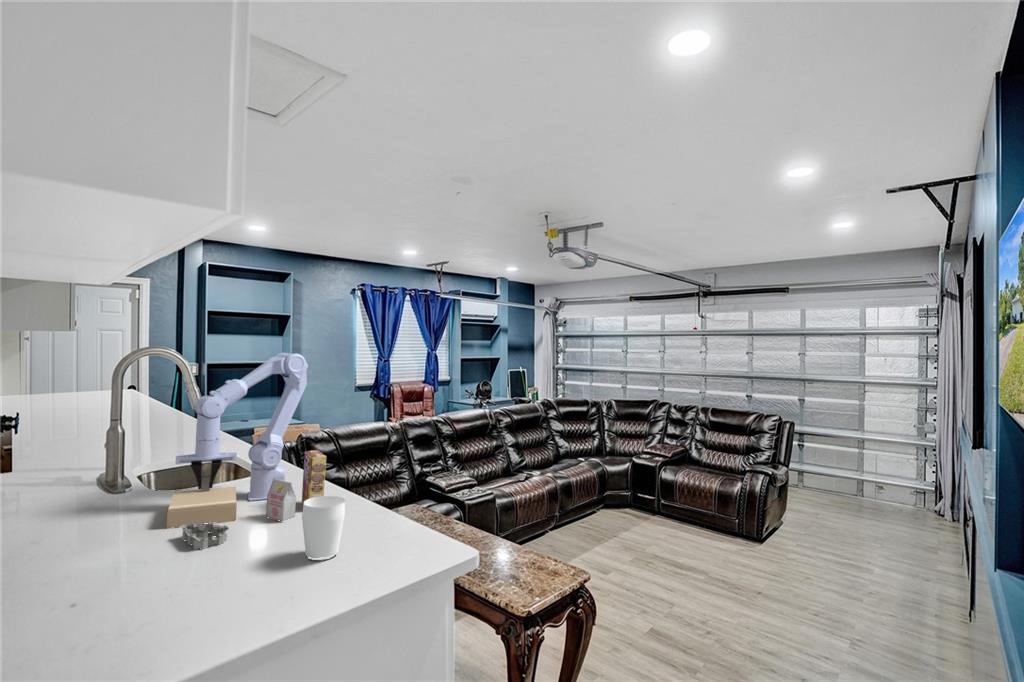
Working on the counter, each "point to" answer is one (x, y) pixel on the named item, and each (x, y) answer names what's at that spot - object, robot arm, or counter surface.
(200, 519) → the carton
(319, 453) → the candy box
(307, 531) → the cup
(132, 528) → the counter surface
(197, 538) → the egg carton
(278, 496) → the milk carton
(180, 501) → the sliding lid
